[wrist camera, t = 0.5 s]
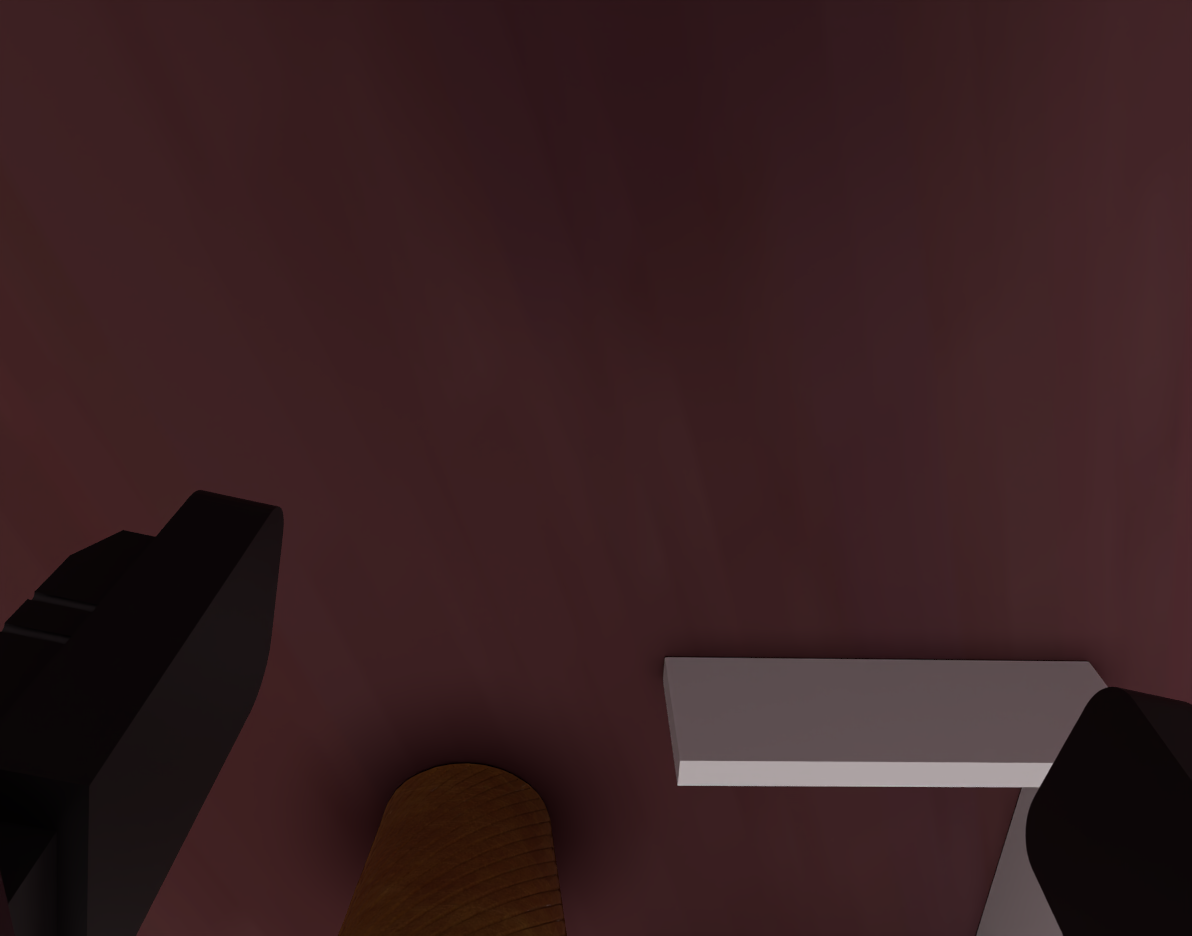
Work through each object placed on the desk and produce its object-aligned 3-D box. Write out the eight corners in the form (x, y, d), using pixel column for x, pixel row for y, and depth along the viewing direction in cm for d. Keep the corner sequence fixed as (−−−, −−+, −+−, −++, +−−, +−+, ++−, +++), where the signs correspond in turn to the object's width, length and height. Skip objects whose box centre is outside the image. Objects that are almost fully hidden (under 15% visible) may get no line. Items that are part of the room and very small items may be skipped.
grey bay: (665, 657, 35) (679, 760, 30) (1088, 661, 35) (1165, 763, 31) (639, 964, 42) (648, 1083, 37) (990, 963, 42) (1040, 1080, 38)
